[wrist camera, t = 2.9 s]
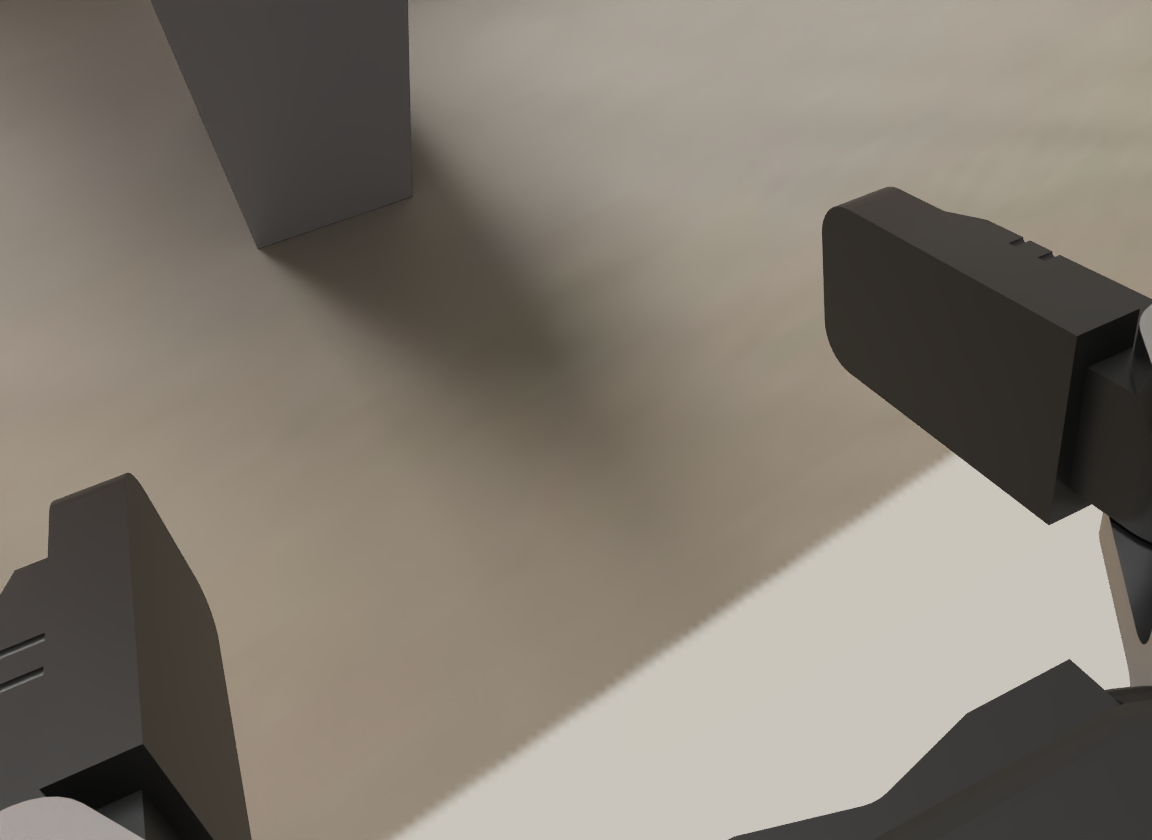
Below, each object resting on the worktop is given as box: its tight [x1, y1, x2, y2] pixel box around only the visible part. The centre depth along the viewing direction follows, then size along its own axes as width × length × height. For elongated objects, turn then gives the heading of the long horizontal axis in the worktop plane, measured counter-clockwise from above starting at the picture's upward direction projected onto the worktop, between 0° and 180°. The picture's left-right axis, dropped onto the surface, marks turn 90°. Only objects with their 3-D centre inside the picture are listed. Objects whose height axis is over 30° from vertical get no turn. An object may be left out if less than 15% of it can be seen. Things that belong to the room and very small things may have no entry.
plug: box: [151, 0, 412, 249], centre depth 21 cm, size 4×4×13 cm
